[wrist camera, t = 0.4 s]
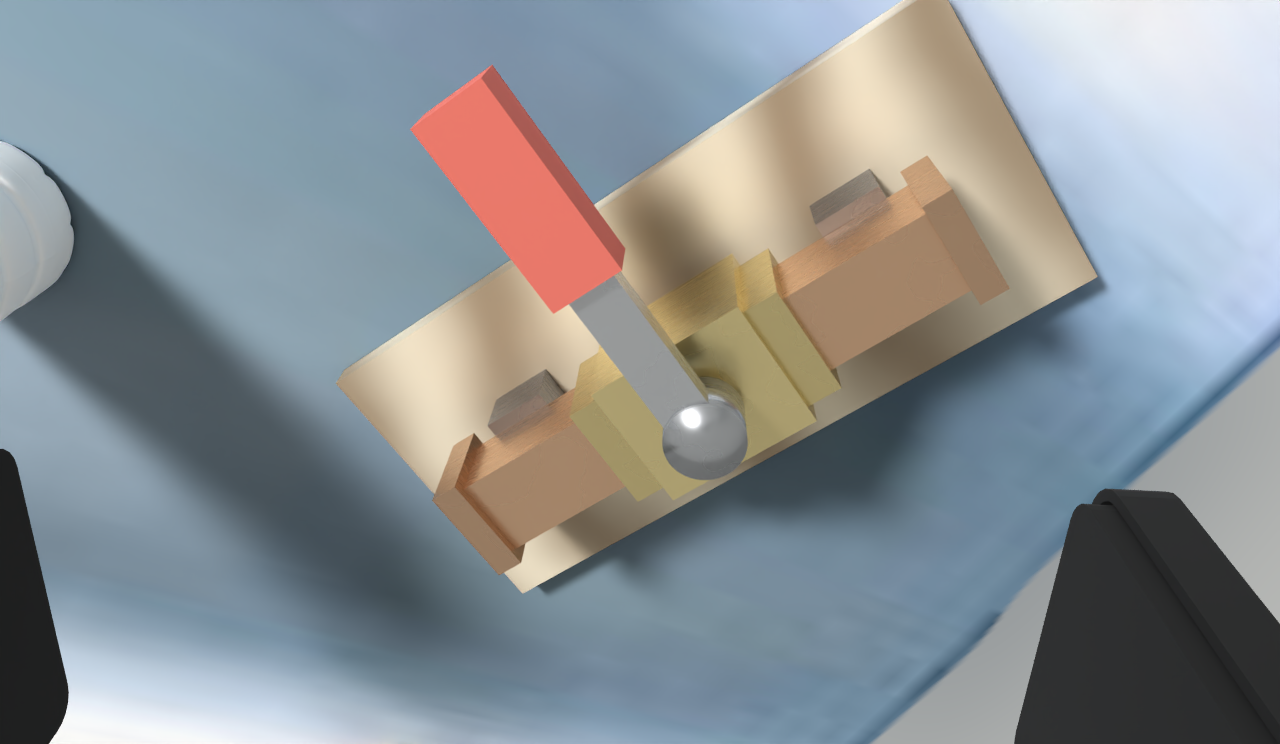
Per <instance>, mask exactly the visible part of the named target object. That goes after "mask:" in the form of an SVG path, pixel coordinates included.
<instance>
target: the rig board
mask: <svg viewBox="0 0 1280 744" xmlns="http://www.w3.org/2000/svg"><path fill="white" fill-rule="evenodd" d="M925 156H928V157H929V158H930V160H931V161H932V162H933V164H934V165H935V166H936V168H937V169H938V170H939V172H940V173H941V174H942V176H943V177H944V178H945V180H946V181H947V182H948V184H949V185H950V187H951V188H952V189H953V191H954V193H955V194H956V196H957V198H958V200H959V201H960V203H961V205H962V206H963V208H964V210H965V212H966V213H967V215H968V217H969V219H970V220H971V222H972V224H973V225H974V227H975V229H976V231H977V232H978V234H979V236H980V238H981V239H982V241H983V243H984V244H985V246H986V248H987V250H988V251H989V253H990V255H991V257H992V258H993V260H994V262H995V263H996V265H997V267H998V269H999V270H1000V272H1001V274H1002V275H1003V277H1004V279H1005V281H1006V282H1007V284H1008V286H1009V288H1010V289H1009V290H1007V291H1005V292H1003V293H1001V294H1000V295H998V296H996V297H994V298H993V299H991V300H989V301H987V302H985V303H984V304H982V305H980V304H979V302H978V300H977V299H976V297H975V296H974V294H973V292H972V291H970V292H968V293H966V294H964V295H963V296H961V297H959V298H957V299H956V300H954V301H952V302H950V303H949V304H947V305H945V306H943V307H941V308H940V309H938V310H936V311H934V312H933V313H931V314H929V315H927V316H926V317H924V318H922V319H920V320H919V321H917V322H915V323H913V324H911V325H910V326H908V327H906V328H904V329H903V330H901V331H899V332H897V333H896V334H894V335H892V336H890V337H889V338H887V339H885V340H883V341H881V342H880V343H878V344H876V345H874V346H873V347H871V348H869V349H867V350H866V351H864V352H862V353H860V354H859V355H857V356H855V357H853V358H851V359H850V360H848V361H846V362H844V363H843V364H841V365H839V366H837V367H836V369H837V373H838V377H839V380H840V384H841V387H842V388H841V389H839V390H837V391H835V392H834V393H832V394H830V395H828V396H826V397H825V398H823V399H821V400H819V401H817V402H816V403H814V404H813V405H814V409H815V414H816V419H817V421H816V422H814V423H812V424H810V425H809V426H807V427H805V428H803V429H801V430H800V431H798V432H796V433H794V434H792V435H791V436H789V437H787V438H785V439H783V440H782V441H780V442H778V443H776V444H774V445H773V446H771V447H769V448H767V449H765V450H764V451H762V452H760V453H758V454H756V455H755V456H753V457H751V458H749V459H747V460H745V461H744V462H742V463H741V464H740V465H739V466H738V467H737V468H736V469H735V470H734V471H732V472H731V473H729V474H728V475H725V476H723V477H721V478H717V479H713V480H709V481H708V482H706V483H704V484H702V485H700V486H699V487H697V488H695V489H693V490H691V491H690V492H688V493H686V494H684V495H682V496H680V497H679V498H677V499H675V500H672V498H671V497H670V496H669V494H668V493H667V492H666V491H665V489H664V488H662V489H660V490H658V491H657V492H655V493H653V494H651V495H649V496H648V497H646V498H644V499H642V500H640V501H639V502H637V500H636V499H635V498H634V497H633V495H632V494H631V493H630V492H629V490H628V489H627V488H626V487H624V488H622V489H620V490H618V491H617V492H615V493H613V494H611V495H610V496H608V497H606V498H604V499H603V500H601V501H599V502H597V503H596V504H594V505H592V506H590V507H588V508H587V509H585V510H583V511H581V512H580V513H578V514H576V515H574V516H573V517H571V518H569V519H567V520H566V521H564V522H562V523H560V524H558V525H557V526H555V527H553V528H551V529H550V530H548V531H546V532H544V533H543V534H541V535H539V536H537V537H536V538H534V539H532V540H530V541H528V542H527V543H526V544H525V548H524V553H523V557H522V561H521V563H520V564H518V565H517V566H515V567H513V568H511V569H509V570H508V571H506V572H504V573H505V574H506V575H507V576H508V578H509V579H510V580H511V581H512V582H513V583H514V584H515V585H516V587H517V588H518V589H519V590H520V591H521V592H522V593H525V592H526V591H528V590H530V589H532V588H534V587H536V586H537V585H539V584H541V583H543V582H545V581H546V580H548V579H550V578H552V577H554V576H556V575H557V574H559V573H561V572H563V571H565V570H566V569H568V568H570V567H572V566H574V565H575V564H577V563H579V562H581V561H583V560H585V559H586V558H588V557H590V556H592V555H594V554H595V553H597V552H599V551H601V550H603V549H605V548H606V547H608V546H610V545H612V544H614V543H615V542H617V541H619V540H621V539H623V538H625V537H626V536H628V535H630V534H632V533H634V532H635V531H637V530H639V529H641V528H643V527H644V526H646V525H648V524H650V523H652V522H654V521H655V520H657V519H659V518H661V517H663V516H664V515H666V514H668V513H670V512H672V511H674V510H675V509H677V508H679V507H681V506H683V505H684V504H686V503H688V502H690V501H692V500H694V499H695V498H697V497H699V496H701V495H703V494H704V493H706V492H708V491H710V490H712V489H713V488H715V487H717V486H719V485H721V484H723V483H724V482H726V481H728V480H730V479H732V478H733V477H735V476H737V475H739V474H741V473H743V472H744V471H746V470H748V469H750V468H752V467H753V466H755V465H757V464H759V463H761V462H763V461H764V460H766V459H768V458H770V457H772V456H773V455H775V454H777V453H779V452H781V451H783V450H784V449H786V448H788V447H790V446H792V445H793V444H795V443H797V442H799V441H801V440H802V439H804V438H806V437H808V436H810V435H812V434H813V433H815V432H817V431H819V430H821V429H822V428H824V427H826V426H828V425H830V424H832V423H833V422H835V421H837V420H839V419H841V418H842V417H844V416H846V415H848V414H850V413H852V412H853V411H855V410H857V409H859V408H861V407H862V406H864V405H866V404H868V403H870V402H871V401H873V400H875V399H877V398H879V397H881V396H882V395H884V394H886V393H888V392H890V391H891V390H893V389H895V388H897V387H899V386H901V385H902V384H904V383H906V382H908V381H910V380H911V379H913V378H915V377H917V376H919V375H921V374H922V373H924V372H926V371H928V370H930V369H931V368H933V367H935V366H937V365H939V364H941V363H942V362H944V361H946V360H948V359H950V358H951V357H953V356H955V355H957V354H959V353H960V352H962V351H964V350H966V349H968V348H970V347H971V346H973V345H975V344H977V343H979V342H980V341H982V340H984V339H986V338H988V337H990V336H991V335H993V334H995V333H997V332H999V331H1000V330H1002V329H1004V328H1006V327H1008V326H1010V325H1011V324H1013V323H1015V322H1017V321H1019V320H1020V319H1022V318H1024V317H1026V316H1028V315H1029V314H1031V313H1033V312H1035V311H1037V310H1039V309H1040V308H1042V307H1044V306H1046V305H1048V304H1049V303H1051V302H1053V301H1055V300H1057V299H1059V298H1060V297H1062V296H1064V295H1066V294H1068V293H1069V292H1071V291H1073V290H1075V289H1077V288H1079V287H1080V286H1082V285H1084V284H1086V283H1088V282H1089V281H1091V280H1093V279H1095V278H1097V277H1098V276H1097V275H1096V273H1095V271H1094V269H1093V267H1092V265H1091V263H1090V262H1089V260H1088V258H1087V256H1086V254H1085V252H1084V250H1083V249H1082V247H1081V245H1080V243H1079V241H1078V239H1077V238H1076V236H1075V234H1074V232H1073V230H1072V228H1071V226H1070V225H1069V223H1068V221H1067V219H1066V217H1065V215H1064V214H1063V212H1062V210H1061V208H1060V206H1059V204H1058V202H1057V201H1056V199H1055V197H1054V195H1053V193H1052V191H1051V190H1050V188H1049V186H1048V184H1047V182H1046V180H1045V178H1044V177H1043V175H1042V173H1041V171H1040V169H1039V167H1038V166H1037V164H1036V162H1035V160H1034V158H1033V156H1032V154H1031V153H1030V151H1029V149H1028V147H1027V145H1026V143H1025V141H1024V140H1023V138H1022V136H1021V134H1020V132H1019V130H1018V129H1017V127H1016V125H1015V123H1014V121H1013V119H1012V117H1011V116H1010V114H1009V112H1008V110H1007V108H1006V106H1005V105H1004V103H1003V101H1002V99H1001V97H1000V95H999V93H998V92H997V90H996V88H995V86H994V84H993V82H992V81H991V79H990V77H989V75H988V73H987V71H986V69H985V68H984V66H983V64H982V62H981V60H980V58H979V57H978V55H977V53H976V51H975V49H974V47H973V45H972V44H971V42H970V40H969V38H968V36H967V34H966V32H965V31H964V29H963V27H962V25H961V23H960V21H959V20H958V18H957V16H956V14H955V12H954V10H953V8H952V7H951V5H950V3H949V1H948V0H903V1H901V2H900V3H898V4H897V5H895V6H894V7H892V8H890V9H889V10H887V11H886V12H884V13H883V14H881V15H880V16H878V17H877V18H875V19H874V20H872V21H871V22H869V23H868V24H866V25H865V26H863V27H862V28H860V29H859V30H857V31H856V32H854V33H853V34H851V35H850V36H848V37H847V38H845V39H844V40H842V41H841V42H839V43H838V44H836V45H835V46H833V47H832V48H830V49H829V50H827V51H826V52H824V53H822V54H821V55H819V56H818V57H816V58H815V59H813V60H812V61H810V62H809V63H807V64H806V65H804V66H803V67H801V68H800V69H798V70H797V71H795V72H794V73H792V74H791V75H789V76H788V77H786V78H785V79H783V80H782V81H780V82H779V83H777V84H776V85H774V86H773V87H771V88H770V89H768V90H767V91H765V92H764V93H762V94H761V95H759V96H758V97H756V98H755V99H753V100H751V101H750V102H748V103H747V104H745V105H744V106H742V107H741V108H739V109H738V110H736V111H735V112H733V113H732V114H730V115H729V116H727V117H726V118H724V119H723V120H721V121H720V122H718V123H717V124H715V125H714V126H712V127H711V128H709V129H708V130H706V131H705V132H703V133H702V134H700V135H699V136H697V137H696V138H694V139H693V140H691V141H690V142H688V143H687V144H685V145H683V146H682V147H680V148H679V149H677V150H676V151H674V152H673V153H671V154H670V155H668V156H667V157H665V158H664V159H662V160H661V161H659V162H658V163H656V164H655V165H653V166H652V167H650V168H649V169H647V170H646V171H644V172H643V173H641V174H640V175H638V176H637V177H635V178H634V179H632V180H631V181H629V182H628V183H626V184H625V185H623V186H622V187H620V188H619V189H617V190H615V191H614V192H612V193H611V194H609V195H608V196H606V197H605V198H603V199H602V200H600V201H599V202H597V203H596V204H594V206H595V207H596V209H597V210H598V211H599V213H600V214H601V216H602V217H603V218H604V220H605V221H606V222H607V224H608V225H609V227H610V228H611V229H612V231H613V232H614V233H615V235H616V236H617V238H618V239H619V240H620V242H621V243H622V245H623V246H624V247H625V254H624V261H623V267H622V271H621V272H622V273H623V275H624V276H625V278H626V279H627V280H628V282H629V283H630V284H631V286H632V287H633V288H634V290H635V291H636V293H637V294H638V295H639V297H640V298H641V299H642V301H643V302H644V303H645V305H646V306H648V305H649V304H651V303H653V302H654V301H656V300H658V299H659V298H661V297H662V296H664V295H666V294H667V293H669V292H670V291H672V290H674V289H675V288H677V287H679V286H680V285H682V284H683V283H685V282H687V281H688V280H690V279H691V278H693V277H695V276H696V275H698V274H700V273H701V272H703V271H704V270H706V269H708V268H709V267H711V266H712V265H714V264H716V263H717V262H719V261H721V260H722V259H724V258H725V257H727V256H729V255H730V254H733V255H734V257H735V258H736V260H737V261H738V263H739V264H740V265H742V264H743V263H745V262H747V261H748V260H750V259H752V258H753V257H755V256H756V255H758V254H760V253H761V252H763V251H765V250H766V249H768V248H769V250H770V251H771V253H772V254H773V256H774V257H775V259H776V260H777V262H778V263H781V262H782V261H784V260H786V259H787V258H789V257H791V256H792V255H794V254H796V253H797V252H799V251H801V250H802V249H804V248H805V247H807V246H809V245H810V244H812V243H814V242H815V241H817V240H819V239H820V238H822V237H823V236H822V234H821V233H820V231H819V230H818V228H817V227H816V225H815V222H814V219H813V216H812V213H811V210H810V207H809V206H810V205H811V204H813V203H815V202H816V201H818V200H819V199H821V198H823V197H824V196H826V195H828V194H829V193H831V192H832V191H834V190H836V189H837V188H839V187H840V186H842V185H844V184H845V183H847V182H849V181H850V180H852V179H853V178H855V177H857V176H858V175H860V174H861V173H863V172H865V171H866V170H868V169H870V170H871V172H872V174H873V175H874V177H875V179H876V180H877V182H878V183H879V185H880V187H881V188H882V190H883V192H884V193H885V195H886V197H887V198H888V197H889V196H891V195H893V194H894V193H896V192H898V191H899V190H901V189H903V188H904V187H906V186H908V184H907V183H906V181H905V179H904V178H903V176H902V174H901V173H900V172H901V171H902V170H904V169H906V168H907V167H909V166H910V165H912V164H914V163H915V162H917V161H919V160H920V159H922V158H924V157H925ZM599 345H600V344H599V343H598V342H597V341H596V339H595V338H594V337H593V335H592V334H591V333H590V331H589V330H588V329H587V327H586V326H585V325H584V324H583V322H582V321H581V320H580V318H579V317H578V316H577V314H576V313H575V312H574V310H573V309H572V308H571V307H570V305H569V304H568V305H567V306H565V307H564V308H562V309H561V310H559V311H557V312H556V313H554V314H553V313H552V312H551V310H550V309H549V308H548V307H547V305H546V304H545V303H544V301H543V300H542V299H541V297H540V296H539V295H538V294H537V292H536V291H535V290H534V288H533V287H532V286H531V285H530V283H529V282H528V281H527V279H526V278H525V277H524V276H523V274H522V273H521V272H520V270H519V269H518V268H517V266H516V265H515V264H514V263H513V261H512V260H510V261H508V262H507V263H505V264H504V265H502V266H501V267H499V268H498V269H496V270H495V271H493V272H492V273H490V274H489V275H487V276H486V277H484V278H483V279H481V280H479V281H478V282H476V283H475V284H473V285H472V286H470V287H469V288H467V289H466V290H464V291H463V292H461V293H460V294H458V295H457V296H455V297H454V298H452V299H451V300H449V301H448V302H446V303H445V304H443V305H442V306H440V307H439V308H437V309H436V310H434V311H433V312H431V313H430V314H428V315H427V316H425V317H424V318H422V319H421V320H419V321H418V322H416V323H415V324H413V325H411V326H410V327H408V328H407V329H405V330H404V331H402V332H401V333H399V334H398V335H396V336H395V337H393V338H392V339H390V340H389V341H387V342H386V343H384V344H383V345H381V346H380V347H378V348H377V349H375V350H374V351H372V352H371V353H369V354H368V355H366V356H365V357H363V358H362V359H360V360H359V361H357V362H356V363H354V364H353V365H351V366H350V367H348V368H347V369H345V370H344V371H343V373H342V375H341V376H340V378H339V379H338V381H337V382H336V384H337V385H338V386H339V388H340V389H341V390H342V391H343V392H344V393H345V394H346V395H347V397H348V398H349V399H350V400H351V401H352V402H353V403H354V404H355V406H356V407H357V408H358V409H359V410H360V411H361V412H362V413H363V415H364V416H365V417H366V418H367V419H368V420H369V421H370V422H371V424H372V425H373V426H374V427H375V428H376V429H377V430H378V431H379V433H380V434H381V435H382V436H383V437H384V438H385V439H386V440H387V442H388V443H389V444H390V445H391V446H392V447H393V448H394V449H395V451H396V452H397V453H398V454H399V455H400V456H401V457H402V458H403V460H404V461H405V462H406V463H407V464H408V465H409V466H410V467H411V469H412V470H413V471H414V472H415V473H416V474H417V475H418V476H419V478H420V479H421V480H422V481H423V482H424V483H425V484H426V485H427V487H428V488H429V489H430V490H431V491H432V492H433V493H434V494H435V492H436V489H437V487H438V484H439V482H440V479H441V477H442V474H443V471H444V469H445V466H446V464H447V461H448V458H449V456H450V453H451V451H452V448H453V445H455V444H457V443H458V442H460V441H462V440H463V439H465V438H466V437H468V436H470V435H471V434H473V433H475V435H476V436H477V437H478V438H479V439H480V440H481V442H482V443H484V442H486V441H488V440H489V439H491V438H493V437H494V436H495V434H494V433H493V432H492V431H491V430H490V428H489V427H488V426H487V425H488V422H489V420H490V417H491V414H492V411H493V408H494V405H495V402H496V399H498V398H500V397H501V396H503V395H504V394H506V393H508V392H509V391H511V390H513V389H514V388H516V387H517V386H519V385H521V384H522V383H524V382H525V381H527V380H529V379H530V378H532V377H534V376H535V375H537V374H538V373H540V372H542V371H543V370H545V369H546V370H547V371H548V372H549V374H550V375H551V376H552V377H553V379H554V380H555V381H556V382H557V384H558V385H559V386H560V387H561V389H562V390H563V391H564V392H565V393H567V392H568V391H570V390H572V389H573V388H575V386H576V381H577V376H578V372H579V367H580V364H581V363H582V362H584V361H585V360H587V359H589V358H590V357H592V356H594V355H595V354H597V353H598V351H599Z"/></svg>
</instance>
